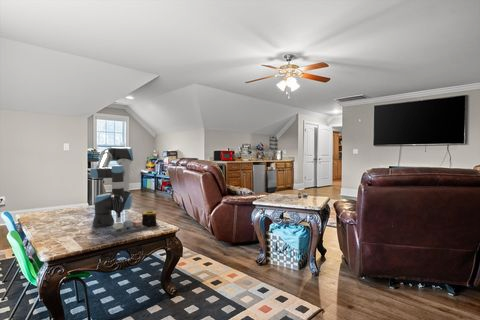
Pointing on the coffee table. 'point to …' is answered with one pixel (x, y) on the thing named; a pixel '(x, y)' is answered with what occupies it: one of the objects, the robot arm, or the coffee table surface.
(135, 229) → the keypad base
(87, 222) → the coffee table surface
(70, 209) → the coffee table surface
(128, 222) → the key slate
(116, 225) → the key ivory
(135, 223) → the key coral
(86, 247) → the coffee table surface
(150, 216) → the candle
